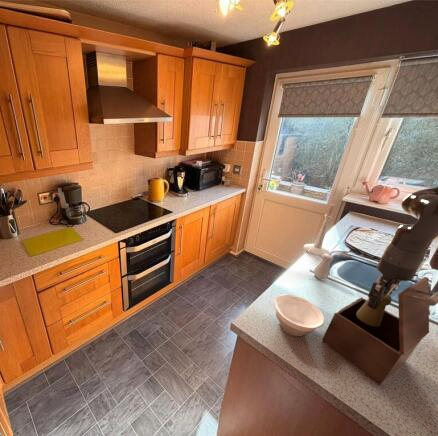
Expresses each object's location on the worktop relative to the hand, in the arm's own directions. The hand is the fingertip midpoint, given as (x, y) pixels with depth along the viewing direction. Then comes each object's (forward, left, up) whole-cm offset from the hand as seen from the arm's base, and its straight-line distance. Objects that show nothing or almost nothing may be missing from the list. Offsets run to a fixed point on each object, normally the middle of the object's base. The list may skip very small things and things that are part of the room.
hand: (376, 304), depth 73 cm
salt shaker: (-28, -28, -19) cm, 44 cm away
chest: (0, +2, -19) cm, 19 cm away
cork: (0, 0, -7) cm, 7 cm away
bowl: (+12, -15, -19) cm, 27 cm away
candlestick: (-52, -43, -19) cm, 70 cm away
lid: (0, +7, +3) cm, 8 cm away
